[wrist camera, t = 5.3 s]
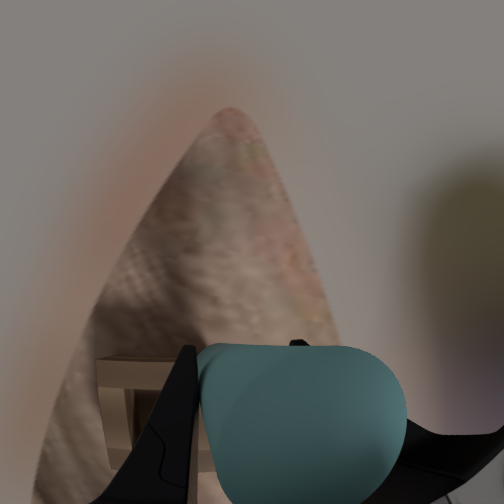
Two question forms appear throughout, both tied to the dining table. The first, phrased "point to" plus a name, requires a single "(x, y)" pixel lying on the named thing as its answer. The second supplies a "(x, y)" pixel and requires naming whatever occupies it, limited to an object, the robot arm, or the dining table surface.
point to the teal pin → (300, 422)
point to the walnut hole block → (136, 404)
